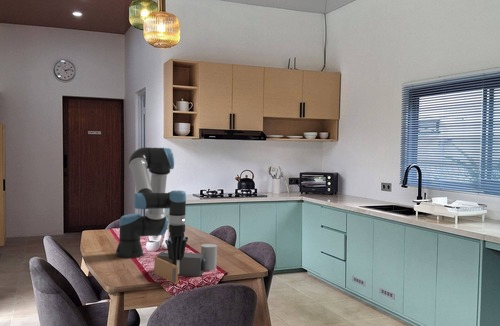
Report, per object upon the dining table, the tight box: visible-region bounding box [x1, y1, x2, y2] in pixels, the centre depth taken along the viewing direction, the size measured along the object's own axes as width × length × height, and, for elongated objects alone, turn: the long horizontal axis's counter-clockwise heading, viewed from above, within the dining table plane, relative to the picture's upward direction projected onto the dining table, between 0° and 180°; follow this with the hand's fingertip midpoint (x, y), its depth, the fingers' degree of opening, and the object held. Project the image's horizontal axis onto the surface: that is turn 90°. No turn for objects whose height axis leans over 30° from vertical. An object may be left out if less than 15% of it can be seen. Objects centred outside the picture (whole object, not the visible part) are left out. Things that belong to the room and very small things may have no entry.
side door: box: [153, 256, 179, 285], centre depth 222 cm, size 22×2×8 cm, turn 38°
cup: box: [200, 243, 218, 271], centre depth 245 cm, size 8×8×12 cm
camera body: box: [156, 250, 207, 277], centre depth 235 cm, size 24×10×10 cm, turn 84°
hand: (176, 273), depth 221 cm, fingers closed
